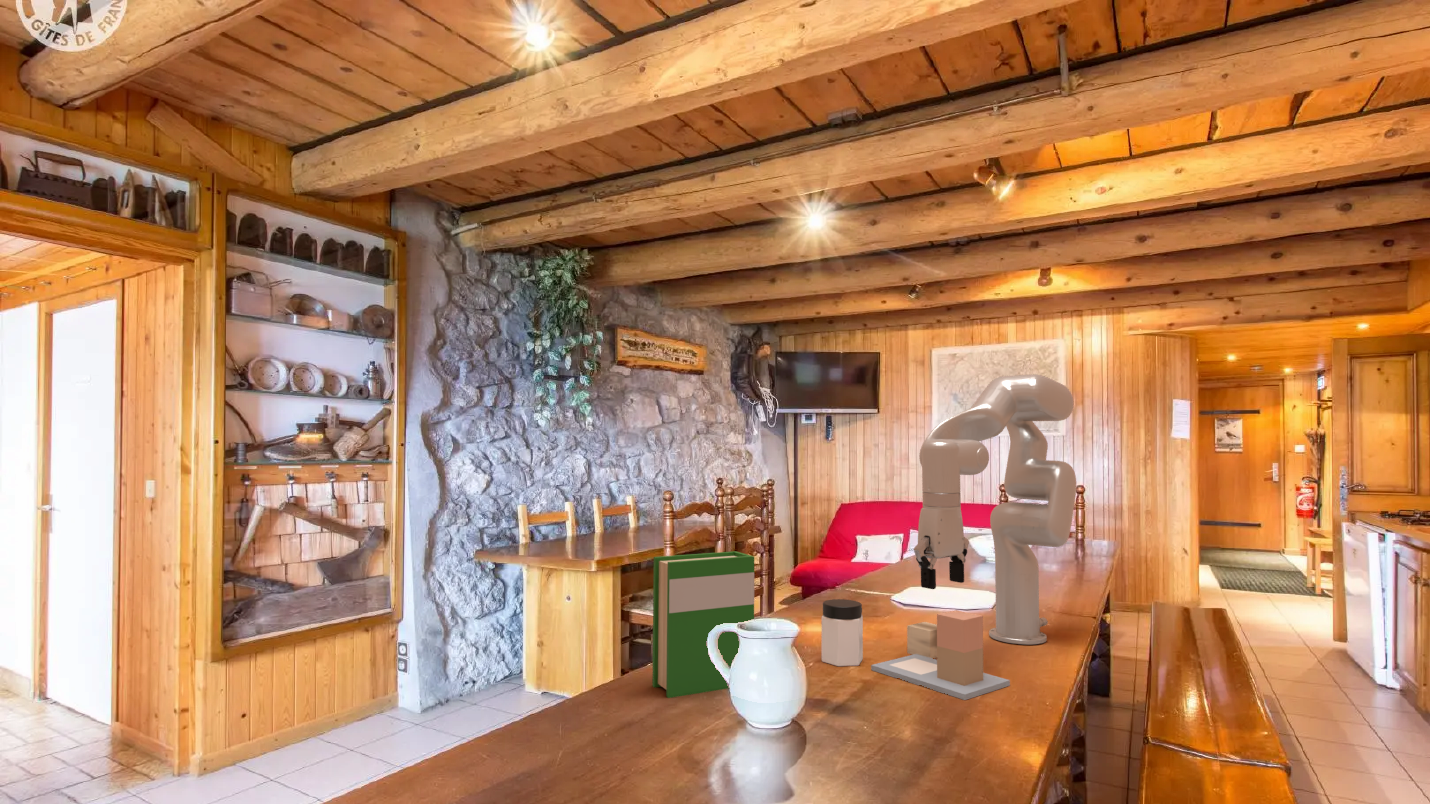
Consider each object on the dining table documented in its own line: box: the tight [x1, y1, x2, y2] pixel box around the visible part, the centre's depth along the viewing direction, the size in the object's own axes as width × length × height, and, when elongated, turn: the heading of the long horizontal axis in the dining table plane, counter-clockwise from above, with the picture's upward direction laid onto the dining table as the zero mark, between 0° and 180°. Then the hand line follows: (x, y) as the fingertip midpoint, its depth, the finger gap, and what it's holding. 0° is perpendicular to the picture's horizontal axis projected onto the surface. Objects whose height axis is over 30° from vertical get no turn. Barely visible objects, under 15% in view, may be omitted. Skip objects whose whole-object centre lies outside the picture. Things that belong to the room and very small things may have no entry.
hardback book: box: [651, 551, 755, 699], centre depth 146 cm, size 18×7×24 cm, turn 117°
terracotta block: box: [936, 609, 984, 653], centre depth 147 cm, size 6×6×6 cm
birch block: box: [906, 621, 937, 659], centre depth 168 cm, size 6×6×6 cm
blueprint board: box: [870, 646, 1011, 701], centre depth 151 cm, size 14×22×7 cm, turn 37°
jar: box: [821, 598, 864, 667], centre depth 162 cm, size 9×8×12 cm
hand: (942, 584), depth 158 cm, fingers open, 9 cm apart
